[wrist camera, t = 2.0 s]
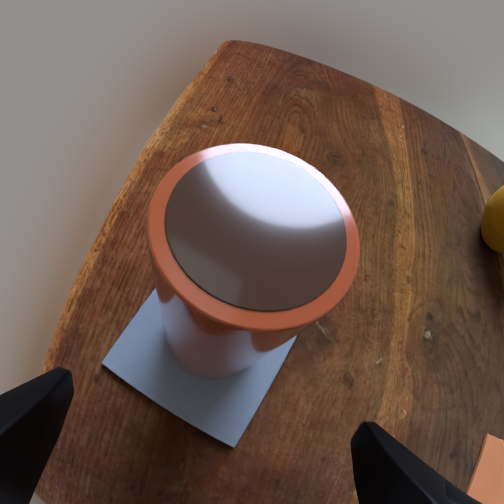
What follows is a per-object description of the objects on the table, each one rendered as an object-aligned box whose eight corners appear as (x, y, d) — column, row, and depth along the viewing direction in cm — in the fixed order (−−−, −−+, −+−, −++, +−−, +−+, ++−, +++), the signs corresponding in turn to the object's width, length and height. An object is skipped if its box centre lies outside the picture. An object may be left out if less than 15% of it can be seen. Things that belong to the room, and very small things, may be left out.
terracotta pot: (230, 397, 19) (312, 377, 7) (148, 345, 19) (98, 242, 7) (275, 319, 22) (381, 206, 10) (199, 273, 22) (225, 117, 10)
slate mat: (233, 447, 17) (234, 448, 17) (102, 363, 18) (101, 362, 18) (312, 302, 23) (314, 300, 23) (199, 233, 24) (199, 230, 24)
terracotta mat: (487, 557, 12) (490, 557, 12) (430, 561, 13) (432, 562, 13) (529, 453, 19) (531, 452, 19) (485, 434, 20) (488, 433, 20)
